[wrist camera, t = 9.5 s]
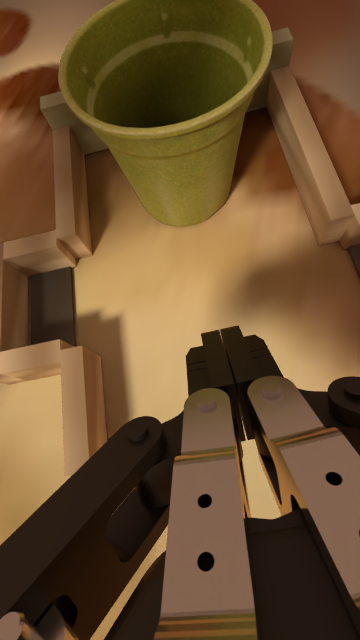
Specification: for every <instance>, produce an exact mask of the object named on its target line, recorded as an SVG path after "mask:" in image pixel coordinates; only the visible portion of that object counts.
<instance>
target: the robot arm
mask: <svg viewBox="0 0 360 640" xmlns="http://www.w3.org/2000/svg"><path fill="white" fill-rule="evenodd" d="M220 331H221V335H220V332H219V330H215V331H211V332H206V333H201V336H202V342H203V346H199V347H194V348H191V349H190V350H189V352H188V354H187V355H186V365H187V380H188V394H189V397H188V398H187V400H186V401H185V404H184V410H183V412H182V413H180V414H179V415H178V416H176V417H175V418H173V419H171V420H169V421H167V422H164V423H162V424H161V423H160V421H159V420H157V419H156V418H154V417H149V416H143V417H138V418H135V419H133V420H131V421H129V422H127V423H126V424H125V425H123V426H122V427H121V428H120V429H119V430H118V431H117V432H116V433H115V434H114V435H113V436H112V437H111V438H110V439H109V440H108V441H107V442H106V443H105V444H104V445H103V446H102V447H101V448H100V449H99V450H98V451H97V452H96V453H95V454H94V455H93V456H92V457H91V458H90V459H88V460H87V461H86V462H85V463H84V464H83V465H82V466H81V467H80V468H79V469H78V470H77V471H76V472H75V473H74V474H73V475H72V476H71V477H70V478H69V479H68V480H67V481H66V482H65V483H64V484H63V485H62V486H61V487H60V488H59V489H58V490H57V491H56V492H55V493H54V494H53V495H52V496H51V497H50V498H49V499H48V500H46V501H45V502H44V503H43V504H42V505H41V506H40V507H39V508H38V509H37V510H36V511H35V512H34V513H33V514H32V515H31V516H30V517H29V518H28V519H27V520H26V521H25V522H24V523H23V524H22V525H21V526H20V527H19V528H18V529H17V530H16V531H15V532H14V533H13V534H12V535H11V536H10V537H9V538H8V539H7V540H6V541H5V542H3V543H2V544H1V545H0V640H90V638H91V637H92V635H93V634H94V632H95V631H96V630H97V628H98V627H99V625H100V624H101V622H102V621H103V619H104V618H105V616H106V615H107V613H108V612H109V610H110V609H111V608H112V606H113V605H114V603H115V602H116V600H117V599H118V597H119V596H120V594H121V593H122V591H123V590H124V588H125V587H126V585H127V584H128V583H129V581H130V580H131V578H132V577H133V575H134V574H135V572H136V571H137V569H138V568H139V566H140V565H141V563H142V562H143V561H144V559H145V558H146V556H147V555H148V553H149V552H150V550H151V549H152V547H153V546H154V544H155V543H156V541H157V540H158V538H159V537H160V536H161V534H162V533H163V531H164V530H165V528H166V527H167V525H168V534H167V546H166V551H165V552H163V553H162V554H161V555H160V556H159V557H158V558H157V559H156V560H155V561H154V563H153V564H152V565H151V566H150V568H149V569H148V570H147V571H146V573H145V574H144V576H143V577H142V579H141V581H140V582H139V584H138V585H137V587H136V589H135V590H134V592H133V593H132V595H131V597H130V598H129V600H128V602H127V603H126V605H125V606H124V608H123V610H122V611H121V613H120V614H119V616H118V618H117V619H116V621H115V622H114V624H113V626H112V627H111V629H110V631H109V632H108V634H107V635H106V637H105V639H104V640H360V377H343V378H339V379H337V380H335V381H333V382H332V383H331V384H330V385H329V387H328V392H318V391H305V390H301V389H298V388H296V386H295V385H294V384H293V383H292V382H291V381H290V380H288V379H286V378H284V377H283V375H282V373H281V371H280V370H279V368H278V366H277V364H276V362H275V360H274V358H273V357H272V355H271V353H270V351H269V349H268V347H267V345H266V344H265V342H264V340H263V339H261V338H259V337H258V336H256V335H250V336H246V337H243V335H242V332H241V330H240V328H239V326H233V327H229V328H224V329H220ZM221 336H222V339H221ZM222 341H223V342H222ZM241 418H242V419H241ZM242 421H243V424H242ZM243 425H244V428H245V432H246V436H247V439H248V440H251V439H255V441H256V445H257V449H258V454H259V459H260V462H261V465H262V468H263V470H264V473H265V475H266V478H267V480H268V483H269V485H270V488H271V490H272V493H273V495H274V498H275V500H276V503H277V505H278V508H279V510H280V513H281V517H279V518H276V519H259V518H251V513H250V506H249V500H248V493H247V486H246V479H245V473H244V466H243V461H242V458H243V450H242V445H241V441H246V439H245V434H244V429H243ZM131 491H132V492H131ZM130 492H131V493H130ZM126 497H127V498H126ZM125 498H126V499H125ZM121 503H122V504H121ZM120 504H121V505H120ZM117 508H118V509H117ZM116 509H117V510H116ZM115 510H116V511H115ZM112 514H113V515H112Z"/></svg>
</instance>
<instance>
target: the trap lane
mask: <svg viewBox="0 0 360 640" xmlns="http://www.w3.org/2000/svg"><path fill="white" fill-rule="evenodd" d="M272 37H273V47H272V54H271V59H270V63H269V66H268V69H267V71H266V73H265V75H264V77H263V80H262V81H261V83H260V84H259V86H258V87H257V88H256V90H255V91H254V94H253V97H252V100H251V102H250V105H249V107H248V108H247V110H246V112H249V111H253V110H257V109H261V108H265V107H267V109H268V112H269V115H270V117H271V120H272V123H273V125H274V128H275V131H276V133H277V136H278V139H279V141H280V144H281V147H282V149H283V152H284V154H285V157H286V160H287V162H288V165H289V168H290V170H291V173H292V176H293V178H294V181H295V184H296V186H297V189H298V192H299V194H300V197H301V200H302V202H303V205H304V208H305V210H306V213H307V216H308V218H309V221H310V224H311V226H312V229H313V232H314V234H315V237H316V240H317V242H318V245H319V246H320V245H324V244H328V243H333V242H337V241H339V242H340V244H341V247H342V249H348V250H349V253H350V255H351V257H352V260H353V262H354V265H355V267H356V270H357V272H358V274H359V277H360V203H358V204H354V205H350V203H349V200H348V198H347V196H346V194H345V191H344V189H343V187H342V185H341V182H340V180H339V178H338V175H337V173H336V171H335V169H334V166H333V164H332V162H331V160H330V157H329V155H328V153H327V150H326V148H325V146H324V144H323V141H322V139H321V137H320V135H319V132H318V130H317V128H316V125H315V123H314V121H313V119H312V116H311V114H310V112H309V110H308V107H307V105H306V103H305V100H304V98H303V96H302V94H301V91H300V89H299V87H298V85H297V82H296V80H295V78H294V75H293V73H292V71H291V69H290V66H289V64H290V57H291V51H292V45H293V37H292V35H291V33H290V31H289V28H288V27H287V28H283V29H280V30H276V31H272ZM40 110H41V112H42V113H43V115H44V117H45V118H46V120H47V122H48V123H49V125H50V127H51V128H52V132H53V160H54V188H55V217H56V230H52V231H48V232H44V233H40V234H36V235H32V236H28V237H24V238H20V239H15V240H11V241H7V242H3V243H0V383H4V384H14V383H19V382H24V381H29V380H34V379H39V378H44V377H49V376H54V375H59V374H61V385H62V413H63V442H64V470H65V476H69V475H73V474H74V473H75V472H76V471H77V470H78V469H79V468H80V467H81V466H82V465H83V464H84V463H85V462H86V461H87V460H88V459H90V458H91V457H92V456H93V455H94V454H95V453H96V452H97V451H98V450H99V449H100V448H101V447H102V446H103V445H104V444H105V443H106V442H107V441H108V440H107V428H106V416H105V404H104V391H103V379H102V367H101V356H100V355H98V354H96V353H95V352H93V351H91V350H89V349H87V348H86V347H84V346H77V347H76V340H75V322H74V303H73V284H72V268H73V267H76V260H75V259H78V258H82V257H86V256H90V255H92V243H91V231H90V219H89V206H88V194H87V182H86V169H85V157H84V155H86V154H89V153H93V152H97V151H101V150H105V149H109V148H108V146H107V145H106V144H105V143H104V142H103V141H102V140H101V139H100V138H99V137H98V136H97V135H96V134H95V132H94V131H93V130H92V128H91V127H90V126H88V125H86V124H85V123H84V122H82V121H81V120H80V119H79V118H78V117H77V116H76V115H75V114H74V113H73V112H72V111H71V109H70V108H69V106H68V105H67V103H66V101H65V99H64V97H63V95H62V93H61V91H60V92H56V93H53V94H49V95H46V96H42V97H40ZM246 112H245V113H246ZM29 277H30V285H31V345H30V346H28V278H29Z"/></svg>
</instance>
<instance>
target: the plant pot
mask: <svg viewBox="0 0 360 640" xmlns="http://www.w3.org/2000/svg"><path fill="white" fill-rule="evenodd" d="M272 47H273V37H272V31H271V27H270V24H269V22H268V19H267V17H266V15H265V14H264V12H263V11H262V10H261V8H259V7H258V6H257V4H256V3H254V2H253V1H252V0H116V1H114V2H112V3H111V4H109V5H107V6H106V7H104V8H103V9H101V10H100V11H98V12H97V13H95V14H94V15H93V16H92V17H91V18H90V19H89V20H87V21H86V22H85V23H84V24H83V25H82V26H81V27H80V28H79V29H78V30H77V32H76V33H75V34H74V36H73V37H72V38H71V40H70V41H69V43H68V45H67V46H66V48H65V51H64V53H63V54H62V57H61V60H60V65H59V75H58V77H59V78H58V79H59V86H60V90H61V93H62V95H63V97H64V99H65V101H66V103H67V105H68V106H69V108H70V109H71V111H72V112H73V113H74V114H75V115H76V116H77V117H78V118H79V119H80V120H81V121H82V122H84V123H85V124H86V125H88V126H90V127H91V128H92V130H93V131H94V132H95V134H96V135H97V136H98V137H99V138H100V139H101V140H102V141H103V142H104V143H105V144H106V145H107V146H108V148H109V150H110V151H111V153H112V155H113V156H114V158H115V160H116V161H117V163H118V164H119V166H120V168H121V169H122V171H123V173H124V174H125V176H126V178H127V179H128V181H129V183H130V184H131V186H132V188H133V189H134V191H135V193H136V194H137V196H138V198H139V199H140V201H141V203H142V204H143V206H144V208H145V209H146V210H147V212H148V213H149V214H151V215H152V216H153V217H154V218H156V219H157V220H158V221H160V222H161V223H164V224H166V225H170V226H180V227H183V226H191V225H195V224H199V223H201V222H204V221H206V220H207V219H209V218H210V217H211V216H212V215H213V214H214V213H215V212H216V211H217V210H218V209H219V208H220V207H221V206H223V205H224V204H225V202H226V200H227V198H228V195H229V191H230V186H231V182H232V176H233V171H234V165H235V160H236V155H237V150H238V145H239V141H240V136H241V131H242V126H243V121H244V116H245V112H246V110H247V108H248V107H249V105H250V102H251V100H252V97H253V94H254V91H255V90H256V88H257V87H258V86H259V84H260V83H261V81H262V80H263V77H264V75H265V73H266V71H267V69H268V66H269V63H270V59H271V54H272Z"/></svg>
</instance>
